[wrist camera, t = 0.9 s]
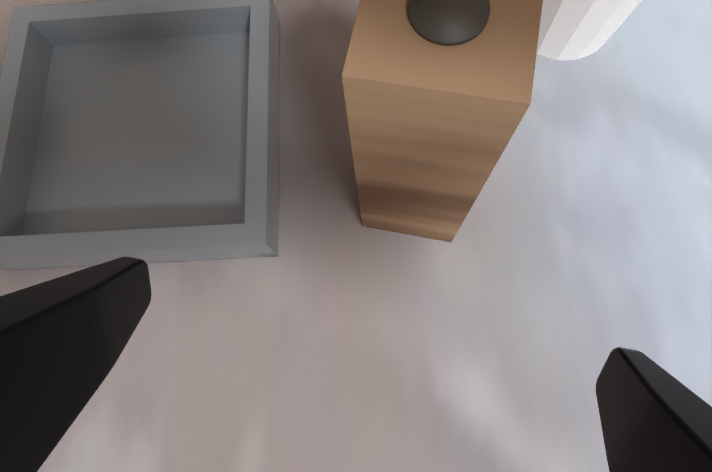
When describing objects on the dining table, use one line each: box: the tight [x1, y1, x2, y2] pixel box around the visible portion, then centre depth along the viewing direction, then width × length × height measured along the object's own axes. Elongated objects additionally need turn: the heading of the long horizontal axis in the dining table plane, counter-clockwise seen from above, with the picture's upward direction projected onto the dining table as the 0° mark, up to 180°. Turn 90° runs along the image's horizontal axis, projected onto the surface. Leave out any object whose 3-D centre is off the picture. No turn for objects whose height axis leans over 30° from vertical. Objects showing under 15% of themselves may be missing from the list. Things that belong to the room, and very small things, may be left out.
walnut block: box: [342, 0, 543, 242], centre depth 17 cm, size 4×4×13 cm
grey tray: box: [0, 0, 280, 270], centre depth 24 cm, size 14×14×2 cm
